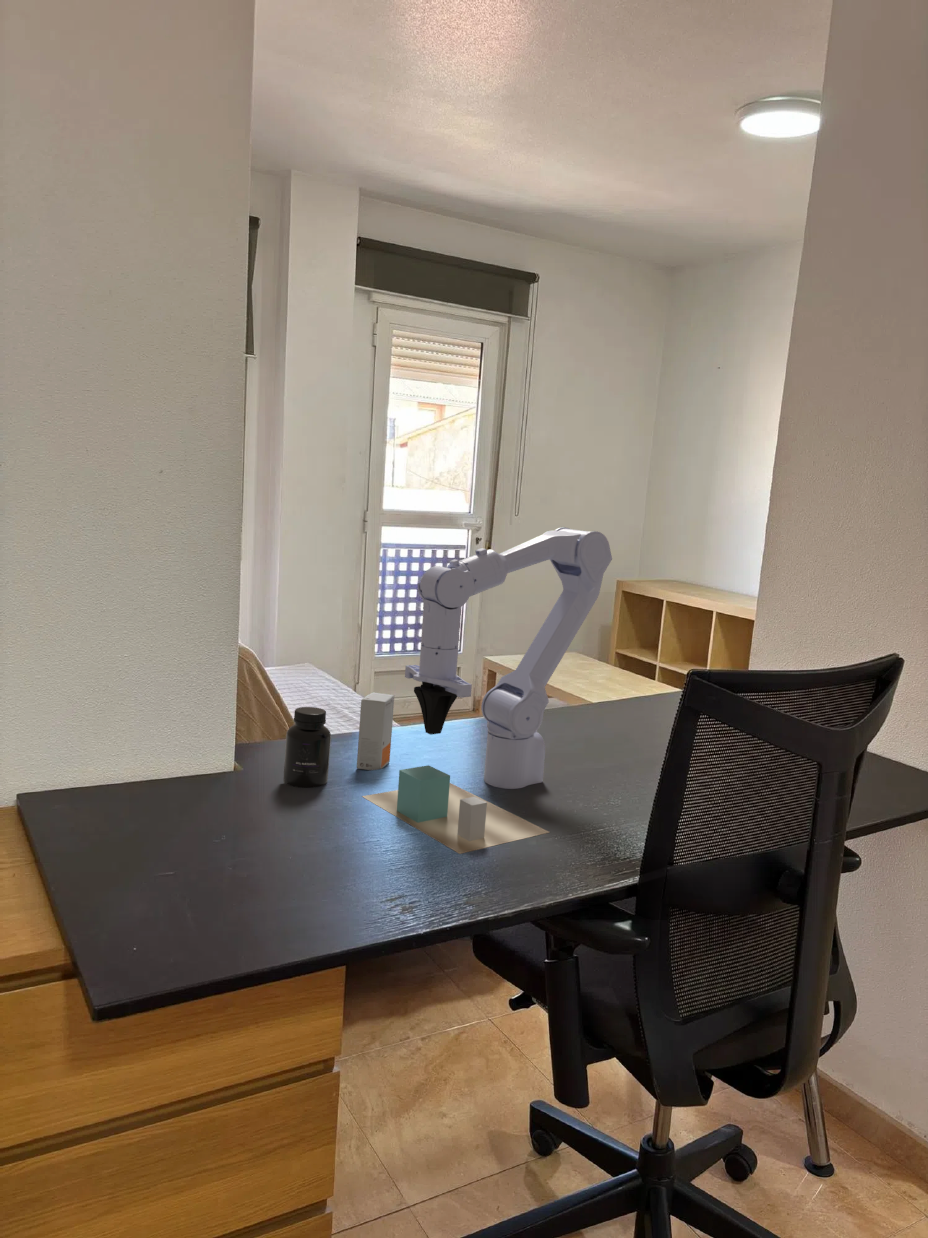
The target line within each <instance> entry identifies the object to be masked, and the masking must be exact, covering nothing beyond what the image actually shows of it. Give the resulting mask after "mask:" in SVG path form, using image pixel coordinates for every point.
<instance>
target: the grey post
mask: <svg viewBox="0 0 928 1238" xmlns="http://www.w3.org/2000/svg"><path fill="white" fill-rule="evenodd" d="M486 809H487V802H485V801H483V800H481V799H479V798H477V797H470V798H465V799H460V807H459V820H458V833H457V835H459V836H461V837H462V838H464V839H466V840H468V841H472V840H477V839H481V838H484V834H485V822H486Z"/></svg>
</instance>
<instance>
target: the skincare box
mask: <svg viewBox="0 0 928 1238" xmlns="http://www.w3.org/2000/svg"><path fill="white" fill-rule="evenodd" d="M360 700H361V702H360V714H359V727H358V729H359V731H358V742H357V743H358V744H357V757H356V769H357V770H366V771H376V770H382V769H384V767H386V766H387V765H388V764H389V763H390V760H391V749H392V748H391V747H392V734H393V723H394V722H393V721H394V718H393V717H394V707H395V706H394V705H395V694H388V693H382V692H381V693H380V692H374V691H373V692H371V693H369V694H367V695H366V696H364V697H363V698H362V699H360Z"/></svg>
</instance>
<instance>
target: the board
mask: <svg viewBox="0 0 928 1238" xmlns="http://www.w3.org/2000/svg"><path fill="white" fill-rule="evenodd" d="M361 797H362V798H364V799H365V800H367V801H369V802H370V803H371V804H373V805H375V806H377V807H379V808H380V809H382V810H384V811H385V812H388V813H389V814H391V815H393V816H394V817H396V818H397V819H399V820H401V821H402V822H404V823H406V824H408V825H409V826H411V827H413V828H414V829H416V830H418V831H420V832H421V833H422V834H424V835H426V836H428V837H430V838H431V839H433V840H435V841H436V842H438V843H441V844H442V845H443V846H446V847H447V848H449V849H451V850H452V851H454V852H456V853H457V854H459V855H461V854H466V853H469V852H470V853H471V852H474V851H479V850H483V849H487V848H491V847H494V846H499V845H503V844H507V843H511V842H516V841H520V840H525V839H528V838H534V837H536V836H540V835H546V834H549V833H550V831H548V830H546V829H544V828H542V827H541V826H538V825H536V824H535V823H532V822H530V821H528V820H526V819H525V818H522V817H520V816H518V815H516V814H515V813H512V812H510V811H508V810H505V809H504V808H501V807H499V806H498V805H495V804H494V803H492V802H490V801H488V800H485V799H483V798H481V797H480V796H477V795H475V794H473V793H471V792H470V791H467V790H465V789H463V788H461V787H460V786H458V785H456V784H453V783H452V782H450V786H449V799H448V812H447V817H443V818H438V819H433V820H428V821H424V822H419V823H417V822H416V821H414V820H412V819H410V818H408V817H407V816H405V815H403V814H401V813H400V812H398V811H397V799H398V789H395V790H391V791H389V790H388V791H384V792H379V793H373V794H366V795H362V796H361ZM470 797H477V798H479V799H481V800H483V801H485V802H487V809H486V822H485V834H484V838H481V839H477V840H472V841H468V840H466V839H464V838H462V837H461V836H459V835H457V833H458V820H459V807H460V799H465V798H470Z"/></svg>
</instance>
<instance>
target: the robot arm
mask: <svg viewBox="0 0 928 1238" xmlns="http://www.w3.org/2000/svg"><path fill="white" fill-rule="evenodd" d="M474 553H475V554H474V555H471V556H468V557H465V558H463V559H460V560H458V559H455V558H454V559H452V560H450V561H449V562H448V565H447V567H446V566H441V565H435V566H432V567H430V568H428V569H427V570H426V571H425V573H423V575H422V576H421V578H420V582H418V583H417V592H418V594H419V595H420V598H421V599H422V603H423V604H422V606H423V607H422V612H423V613H422V624H421V640H420V651H419V652H420V653H419V655H420V656H419V665H418V664H410V665H408V664H407V665H405V670H404V671H405V672H404V678H405V679H413V680H414V681H416V682H421V684H420V685H419V686H415V687H413V692H414V694H415V696H416V698H417V700H418V704H419V706H420V710H421V714H422V720H423V726H424V731H425V733H427V734H428V735H438V734H441V733H442V731H443V728H444V725H445V722H446V719H447V717H448V716H447V715H448V714H449V712H450V709H451V707H452V706H453V704H454V703H455V701H456V700H457V698H461V699H462V698H470V697H472V686H473V684H472V683H471V682H470V683H469V682H468V681H466V680H464V679H463V678H462V677H460V676H459V675H458V674H457V671H458V670H457V669H458V658H459V657H458V656H459V644H460V643H459V642H460V632H461V631H460V630H461V629H460V628H461V619H462V617H461V616H462V607H463V606H464V605H466V603H467V602H468V601H469V598H470V597H472V596H474V595H478V594H480V593H483V592H485V591H488V590H490V589H493V588H495V587H498V586H501V585H502V584H504V583H505V581H506V579H507V575H508V574H509V573H513V572H516V571H519V570H521V569H522V570H523V569H525V568H528V567H530V566H534V565H537V564H540V563H542V562H546V561H550V562H551V564H552V566H553V569H554V570H555V572H556V573H557V576H558V577H559V579H560V581H561V584H562V591H561V593H560V595H559V596H558V599H557V600H556V602H555V604H554V605H553V606H552V608H551V610H550V611H549V614H548V615H547V617H546V619H545V620H544V622H543V624H542V625H541V627H540V629H539V630H538V632H537V634H536V636H535V637H534V639H533V640H532V642H531V644H530V645H529V647H528V649H527V650H526V652H525V653H524V655H523V657H522V659H521V660H520V662H519V664H518V665H517V667H516V668H515V670H513V671H511V672H509V673H507V674H505V675H503V676H501V677H500V678H499V681H498V682H497V684H496V685H494V687H492V688H491V689H489V690H488V691H487V692H486V693H485V695H484V696H483V698H482V700H481V707H480V708H481V714H482V716H483V718H484V719H485V720H486V721H487V722H486V728H487V737H486V748H485V749H486V750H485V759H484V760H485V761H484V771H483V772H484V773H483V782H485V783H486V784H487V785H490V786H491V787H495V788H498V789H499V788H500V789H506V790H507V789H511V790H514V789H522V788H525V787H527V786H530V785H534V784H540V783H543V780H544V770H545V760H546V759H545V757H546V744H545V740H544V738H543V736H542V735H541V734H540V733H539V732H538V730H539V729H540V727H541V726H542V723H543V721H544V714H545V710H546V708H547V706H548V704H549V703H550V701H549V697H548V693H547V691H546V686H547V684H548V682H549V681H550V679H551V678H552V676H553V674H554V672H555V670H556V669H557V668H558V665H559V664H560V662H561V661H562V659H563V657H564V655H565V654H566V652H567V651H568V649H569V647H570V646H571V643H572V642H573V640H574V639H575V637H576V635H577V634H578V632H579V630H580V628H581V627H582V625H583V623H584V622H585V620H586V618H587V617H588V615H589V614H590V611H591V610H592V608H593V606H594V605H595V603H596V601H597V600H598V598H599V595H600V592H601V587H602V585H603V584H602V582H603V579H604V573H605V572H606V571H607V568H608V567H609V566H610V564H611V563H612V560H613V557H612V553H611V547H610V542H609V540H608V538H607V537H606V536H605V534H604V533H602V532H600V531H596V530H592V531H589V530H582V529H580V530H579V529H574V528H573V529H572V528H569V527H565V526H564V527H562V526H561V527H558V528H556V529H554V530H552V529H551V530H547V531H545V532H544V533H542V534H541V535H538V536H535V537H534V538H531V539H529V540H527V541H525V542H522V543H520V544H518V545H515V546H513V547H511V548H509V549H506V550H504V551H502V552H500V553H499V552H497V551H495V550H494V549H487V548H485V547H484V548H482V547H480V548H477V549H476V550H475V552H474Z"/></svg>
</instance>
